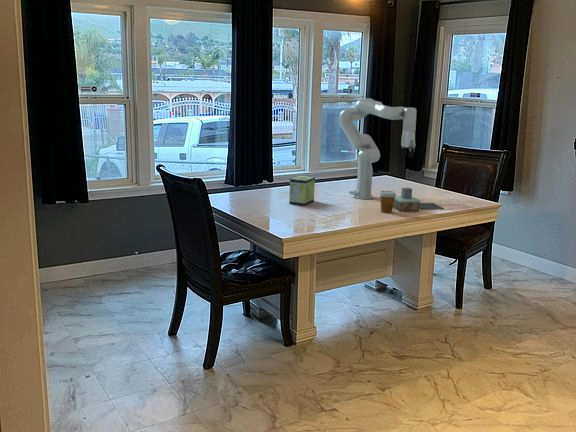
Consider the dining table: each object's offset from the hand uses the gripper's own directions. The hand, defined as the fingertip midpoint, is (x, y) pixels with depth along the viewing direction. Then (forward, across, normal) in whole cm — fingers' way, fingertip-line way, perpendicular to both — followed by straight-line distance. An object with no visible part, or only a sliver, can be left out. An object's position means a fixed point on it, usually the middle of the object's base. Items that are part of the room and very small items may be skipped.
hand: (407, 156), depth 358 cm
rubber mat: (+31, +5, +13) cm, 34 cm away
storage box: (+31, +10, -5) cm, 33 cm away
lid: (+24, +10, -5) cm, 27 cm away
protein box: (+29, -15, -62) cm, 71 cm away
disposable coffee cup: (+31, +15, -19) cm, 39 cm away
